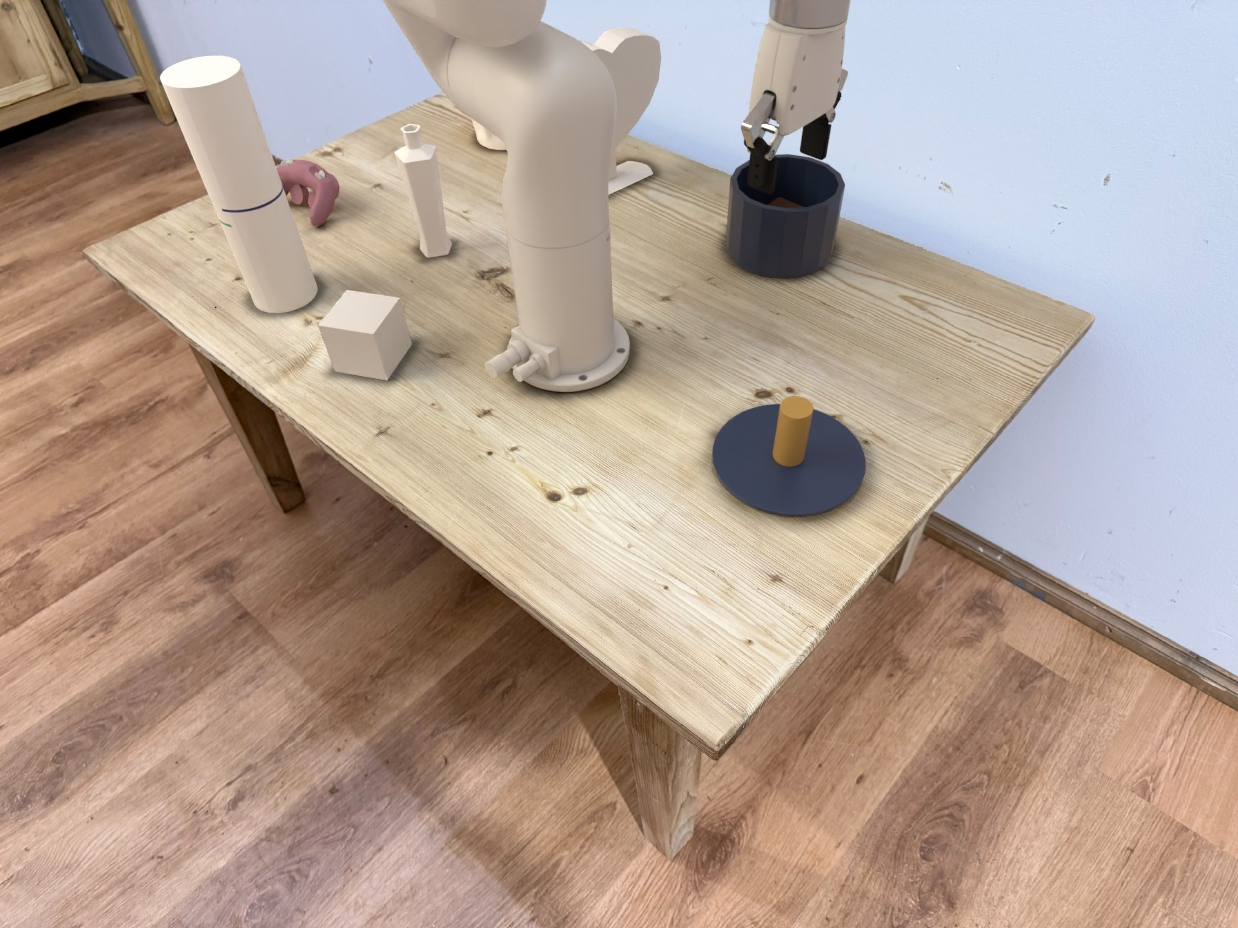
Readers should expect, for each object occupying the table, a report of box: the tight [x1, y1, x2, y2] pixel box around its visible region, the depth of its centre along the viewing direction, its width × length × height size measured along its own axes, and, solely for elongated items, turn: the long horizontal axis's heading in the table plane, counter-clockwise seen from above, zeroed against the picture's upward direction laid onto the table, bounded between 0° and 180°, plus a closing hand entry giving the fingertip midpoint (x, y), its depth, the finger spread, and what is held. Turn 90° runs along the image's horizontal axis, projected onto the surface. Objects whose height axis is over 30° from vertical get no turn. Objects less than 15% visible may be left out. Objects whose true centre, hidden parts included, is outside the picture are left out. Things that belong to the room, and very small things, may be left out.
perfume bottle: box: [394, 123, 453, 259], centre depth 97 cm, size 5×4×15 cm
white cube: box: [317, 289, 413, 381], centre depth 87 cm, size 6×6×6 cm
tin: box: [725, 153, 846, 279], centre depth 97 cm, size 12×12×8 cm
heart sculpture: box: [578, 26, 662, 196], centre depth 105 cm, size 16×5×18 cm, turn 131°
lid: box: [711, 395, 867, 519], centre depth 74 cm, size 14×14×7 cm
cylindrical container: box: [159, 55, 318, 314], centre depth 88 cm, size 7×7×25 cm
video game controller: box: [276, 159, 340, 227], centre depth 108 cm, size 10×5×7 cm, turn 58°
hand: (787, 172), depth 93 cm, fingers open, 9 cm apart
